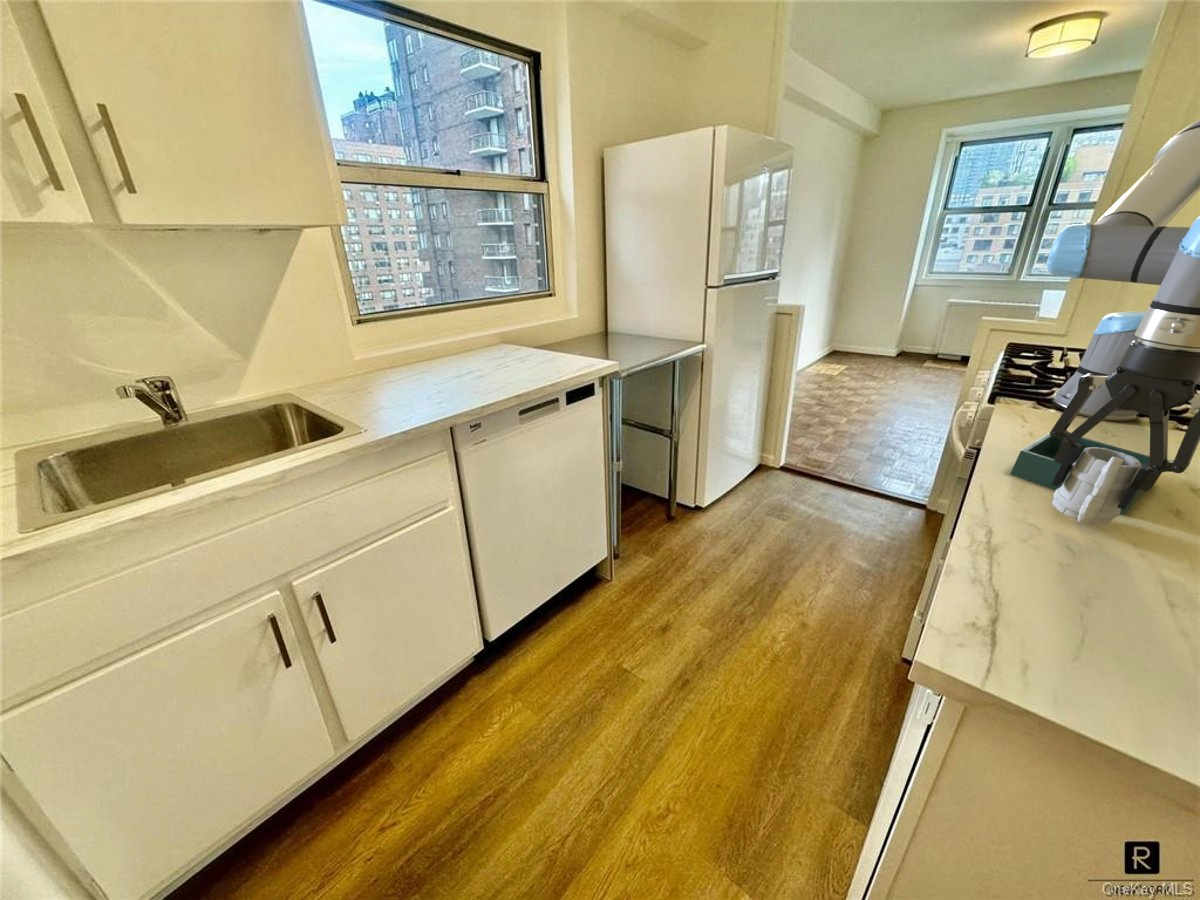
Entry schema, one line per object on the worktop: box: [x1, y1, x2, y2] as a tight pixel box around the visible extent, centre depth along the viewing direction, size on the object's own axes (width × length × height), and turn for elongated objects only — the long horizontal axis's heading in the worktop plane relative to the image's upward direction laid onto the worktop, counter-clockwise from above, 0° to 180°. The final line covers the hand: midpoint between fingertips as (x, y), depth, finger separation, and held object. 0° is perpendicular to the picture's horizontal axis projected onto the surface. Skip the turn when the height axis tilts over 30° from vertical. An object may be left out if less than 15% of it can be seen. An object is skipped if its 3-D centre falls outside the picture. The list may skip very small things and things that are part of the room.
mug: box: [1051, 447, 1142, 525], centre depth 72 cm, size 8×12×12 cm, turn 135°
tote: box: [1009, 432, 1150, 516], centre depth 86 cm, size 17×16×5 cm
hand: (1089, 493), depth 73 cm, fingers closed on mug, 7 cm apart
